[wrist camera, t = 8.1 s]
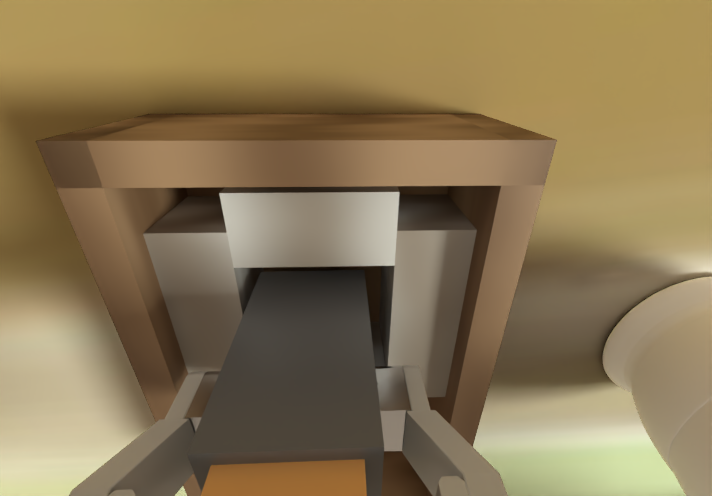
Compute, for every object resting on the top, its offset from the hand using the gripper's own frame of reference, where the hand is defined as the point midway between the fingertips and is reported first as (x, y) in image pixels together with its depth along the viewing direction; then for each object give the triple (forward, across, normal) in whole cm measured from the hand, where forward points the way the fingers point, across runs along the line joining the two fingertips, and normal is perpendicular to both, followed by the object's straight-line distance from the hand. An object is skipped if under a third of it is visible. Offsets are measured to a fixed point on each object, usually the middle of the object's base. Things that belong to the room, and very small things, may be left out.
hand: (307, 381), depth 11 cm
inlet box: (+7, 0, +3) cm, 7 cm away
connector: (+4, 0, 0) cm, 4 cm away
